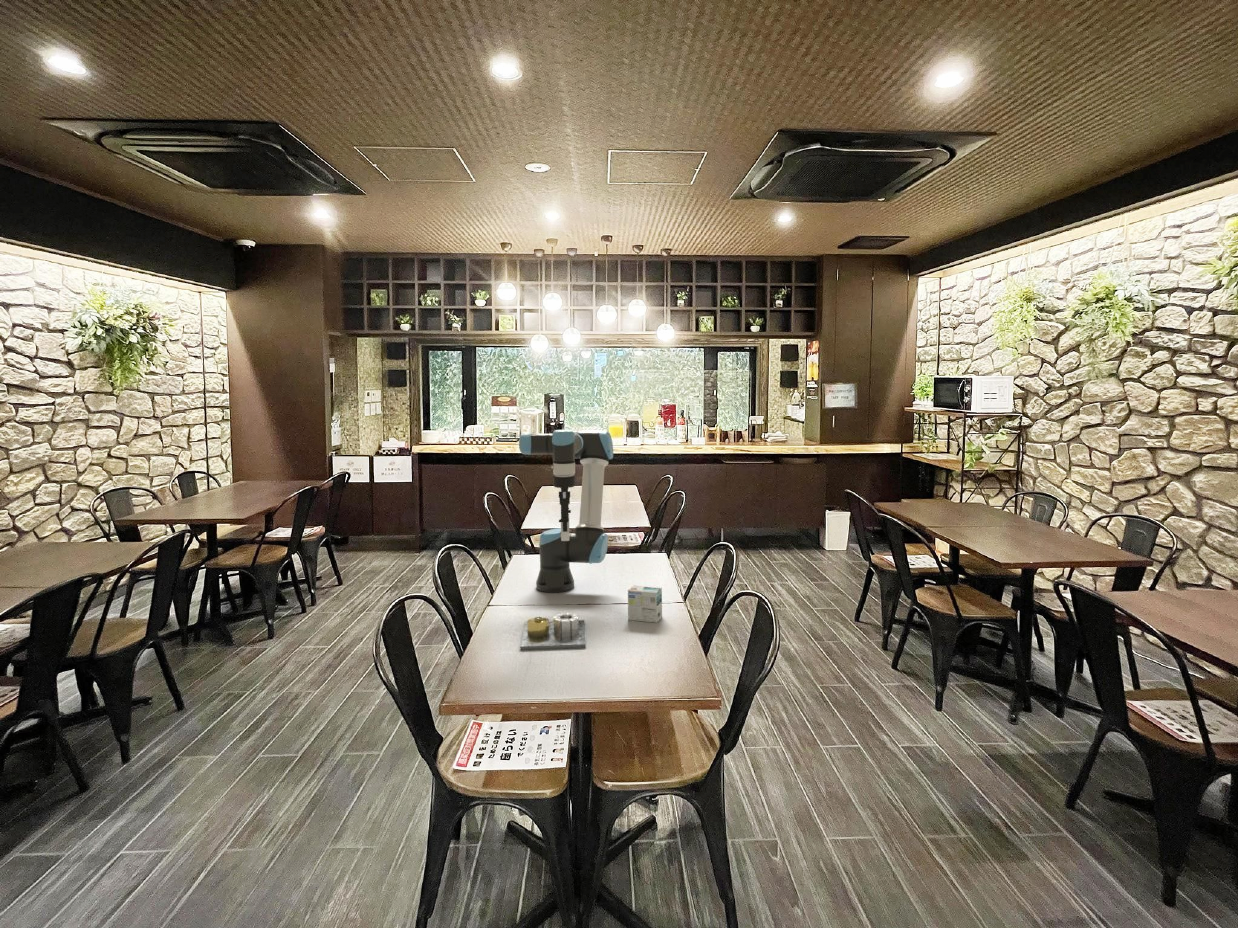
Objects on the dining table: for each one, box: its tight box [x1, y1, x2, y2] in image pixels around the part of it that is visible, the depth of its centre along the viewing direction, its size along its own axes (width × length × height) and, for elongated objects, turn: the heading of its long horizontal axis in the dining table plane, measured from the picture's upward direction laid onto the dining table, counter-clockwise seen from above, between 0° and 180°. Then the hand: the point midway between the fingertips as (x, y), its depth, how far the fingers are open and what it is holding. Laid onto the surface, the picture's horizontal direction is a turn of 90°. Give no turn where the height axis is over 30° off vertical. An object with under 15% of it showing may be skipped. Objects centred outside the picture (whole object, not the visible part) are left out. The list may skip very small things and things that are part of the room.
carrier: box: [519, 616, 587, 651], centre depth 226 cm, size 22×20×6 cm
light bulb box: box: [627, 584, 663, 624], centre depth 242 cm, size 11×7×11 cm, turn 71°
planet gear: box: [553, 612, 580, 637], centre depth 226 cm, size 8×8×5 cm
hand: (565, 536), depth 242 cm, fingers open, 13 cm apart
